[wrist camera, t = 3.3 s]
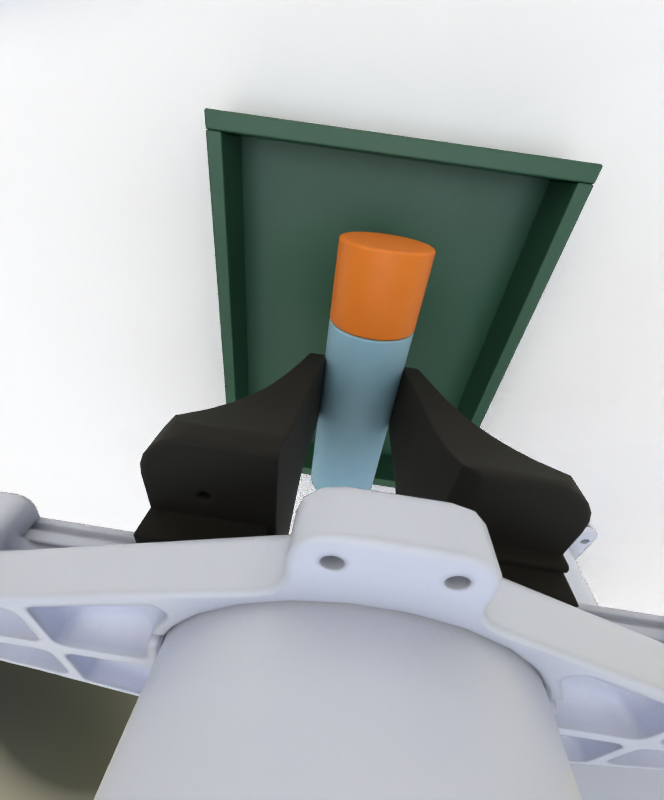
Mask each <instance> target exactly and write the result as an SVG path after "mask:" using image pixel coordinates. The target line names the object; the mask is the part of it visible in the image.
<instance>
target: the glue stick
mask: <svg viewBox="0 0 664 800" xmlns="http://www.w3.org/2000/svg"><path fill="white" fill-rule="evenodd" d="M434 257H435V249H434V248H433V247H431V246H430V245H428V244H426V243H423V242H420V241H417V240H414V239H410V238H406V237H401V236H396V235H390V234H383V233H375V232H347V233H343V234H341V235H340V237H339V243H338V252H337V260H336V269H335V277H334V285H333V294H332V302H331V311H330V319H329V328H328V336H327V345H326V353H325V358H326V361H325V370H324V378H323V386H322V395H321V403H320V411H319V417H318V422H317V429H316V438H315V446H314V455H313V463H312V472H311V479H312V483H313V485H314V487H315V489H316V490H319V489H321V488H323V487H353V488H359V489H366V490H371V488H372V484H373V480H374V477H375V473H376V469H377V466H378V462H379V458H380V455H381V451H382V447H383V444H384V440H385V436H386V433H387V429H388V425H389V421H390V418H391V414H392V410H393V407H394V403H395V399H396V396H397V392H398V388H399V385H400V381H401V377H402V373H403V370H404V367H405V363H406V359H407V356H408V352H409V348H410V345H411V341H412V337H413V332H414V330H415V326H416V323H417V319H418V315H419V312H420V308H421V304H422V301H423V297H424V293H425V290H426V286H427V282H428V279H429V275H430V271H431V268H432V264H433V260H434Z"/></svg>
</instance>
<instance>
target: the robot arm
mask: <svg viewBox="0 0 664 800" xmlns="http://www.w3.org/2000/svg"><path fill="white" fill-rule="evenodd" d="M325 361H326V358H325V355H322V354H316V353H310V354H308V355H307V356H306V357H305V358H304V359H303V360H302V361H301V362H300V363H299V364H297V365H296V366H295V367H294V368H293V369H291V370H290V371H289V372H288V373H287V374H285V375H284V376H283V377H281V378H280V379H278V380H277V381H275V382H274V383H273V384H271V385H269V386H268V387H266V388H264V389H262V390H260V391H258V392H256V393H254V394H252V395H249V396H247V397H244V398H242V399H239V400H237V401H234V402H231V403H228V404H225V405H222V406H218V407H215V408H211V409H207V410H202V411H197V412H191V413H186V414H180V415H175V416H174V417H173V418H172V419H171V421H170V422H169V423H168V424H167V425H166V426H165V427H164V428H163V429H162V431H161V432H160V433H159V434H158V436H157V437H156V438H155V439H154V441H153V442H152V443H151V445H150V446H149V447H148V448H147V450H146V451H145V452H144V453H143V456H142V459H141V462H140V467H141V475H142V478H143V481H144V485H145V488H146V492H147V495H148V499H149V502H150V505H151V508H150V510H149V511H148V513H147V514H146V516H145V517H144V519H143V520H142V522H141V524H140V525H139V527H138V528H137V530H136V531H135V532H130V531H123V530H117V529H111V528H104V527H98V526H92V525H86V524H79V523H73V522H67V521H60V520H54V519H48V518H42V517H40V516H39V513H38V510H37V508H36V506H35V505H34V504H33V503H32V501H31V500H29V499H28V498H26V497H24V496H22V495H18V494H14V493H7V492H1V491H0V660H2V661H6V662H10V663H14V664H18V665H22V666H26V667H30V668H34V669H38V670H42V671H46V672H50V673H53V674H57V675H61V676H65V677H69V678H72V679H76V680H80V681H84V682H87V683H91V684H95V685H99V686H102V687H106V688H110V689H114V690H117V691H121V692H125V693H129V694H133V695H136V696H139V698H138V700H137V703H136V705H135V707H134V709H133V712H132V714H131V716H130V719H129V721H128V723H127V725H126V727H125V730H124V732H123V734H122V737H121V739H120V741H119V743H118V746H117V748H116V750H115V753H114V755H113V757H112V760H111V762H110V764H109V766H108V768H107V771H106V773H105V775H104V778H103V780H102V782H101V784H100V787H99V789H98V791H97V793H96V796H95V798H94V800H664V616H658V615H651V614H645V613H639V612H633V611H626V610H620V609H614V608H607V607H601V606H598V604H597V602H596V600H595V598H594V596H593V594H592V592H591V590H590V588H589V586H588V584H587V582H586V580H585V578H584V576H583V575H582V573H581V571H580V569H579V567H578V565H577V563H576V561H575V560H576V559H577V557H578V556H579V555H580V554H581V553H582V552H583V551H584V550H585V549H586V548H587V547H588V546H589V545H590V544H591V543H592V542H593V541H594V540H595V539H596V537H597V533H596V531H595V530H594V529H593V528H590V527H587V525H588V523H589V522H590V516H591V510H590V507H589V503H588V502H587V500H586V499H585V497H584V496H583V494H582V492H581V491H580V489H579V488H578V486H577V485H576V483H575V482H574V480H573V478H572V477H571V476H570V475H568V474H565V473H563V472H561V471H558V470H556V469H554V468H551V467H549V466H547V465H544V464H542V463H540V462H538V461H535V460H533V459H531V458H529V457H528V456H526V455H524V454H522V453H520V452H518V451H516V450H514V449H512V448H511V447H509V446H507V445H505V444H504V443H502V442H500V441H499V440H497V439H496V438H494V437H492V436H491V435H489V434H488V433H486V432H485V431H483V430H482V429H480V428H479V427H478V426H477V425H475V424H474V423H473V422H471V421H470V420H469V419H467V418H466V417H465V416H464V415H463V414H461V413H460V412H459V411H458V410H457V409H456V408H455V407H454V406H453V405H451V404H450V403H449V402H448V401H447V400H446V399H445V398H444V397H443V396H442V395H441V393H440V392H439V391H438V390H437V389H436V388H435V387H434V386H433V385H432V384H431V383H430V381H429V380H428V379H427V378H426V377H425V376H424V375H423V374H422V373H421V372H420V371H419V370H418V369H415V368H408V367H404V370H403V373H402V377H401V381H400V385H399V388H398V392H397V396H396V399H395V403H394V407H393V410H392V414H391V418H390V421H389V437H390V446H391V454H392V461H393V469H394V477H395V488H396V494H391V493H385V492H379V491H372V490H366V489H359V488H353V487H323V488H321V489H319V490H317V491H315V492H312V493H310V494H308V495H306V496H304V497H303V499H302V501H301V503H300V505H299V507H298V508H297V510H296V515H295V519H294V524H293V529H292V533H291V534H289V529H290V524H291V519H292V514H293V509H294V504H295V499H296V495H297V490H298V485H299V480H300V476H301V472H302V468H303V465H304V462H305V459H306V456H307V453H308V450H309V447H310V443H311V440H312V437H313V434H314V431H315V428H316V425H317V422H318V417H319V411H320V403H321V395H322V386H323V378H324V370H325ZM288 534H289V535H288Z"/></svg>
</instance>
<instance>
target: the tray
mask: <svg viewBox="0 0 664 800" xmlns="http://www.w3.org/2000/svg"><path fill="white" fill-rule="evenodd" d="M205 124H206V129H208V130H206V137H207V151H208V164H209V177H210V191H211V204H212V217H213V231H214V244H215V257H216V271H217V284H218V297H219V311H220V324H221V337H222V351H223V364H224V377H225V391H226V404H228V403H231V402H234V401H237V400H239V399H242V398H244V397H247V396H249V395H252V394H254V393H256V392H258V391H260V390H262V389H264V388H266V387H268V386H269V385H271V384H273V383H274V382H275V381H277V380H278V379H280V378H281V377H283V376H284V375H285V374H287V373H288V372H289V371H290V370H291V369H293V368H294V367H295V366H296V365H297V364H299V363H300V362H301V361H302V360H303V359H304V358H305V357H306V356H307V355H308V354H310V353H316V354H322V355H325V353H326V345H327V336H328V328H329V319H330V311H331V302H332V294H333V285H334V277H335V269H336V260H337V252H338V243H339V237H340V235H341V234H343V233H347V232H375V233H383V234H390V235H396V236H401V237H406V238H410V239H414V240H417V241H420V242H423V243H426V244H428V245H430V246H431V247H433V248H434V249H435V257H434V260H433V264H432V268H431V271H430V275H429V279H428V282H427V286H426V290H425V293H424V297H423V301H422V304H421V308H420V312H419V315H418V319H417V323H416V326H415V330H414V332H413V337H412V341H411V345H410V348H409V352H408V356H407V359H406V363H405V367H408V368H415V369H418V370H419V371H420V372H421V373H422V374H423V375H424V376H425V377H426V378H427V379H428V380H429V381H430V383H431V384H432V385H433V386H434V387H435V388H436V389H437V390H438V391H439V392H440V393H441V395H442V396H443V397H444V398H445V399H446V400H447V401H448V402H449V403H450V404H451V405H453V406H454V407H455V408H456V409H457V410H458V411H459V412H460V413H461V414H463V415H464V416H465V417H466V418H467V419H469V420H470V421H471V422H473V423H474V424H475V425H477V426H478V427H480V425H481V423H482V420H483V418H484V416H485V414H486V412H487V410H488V408H489V406H490V404H491V401H492V399H493V397H494V395H495V393H496V391H497V389H498V387H499V384H500V382H501V380H502V378H503V376H504V374H505V372H506V370H507V368H508V365H509V363H510V361H511V359H512V357H513V355H514V353H515V351H516V348H517V346H518V344H519V342H520V340H521V338H522V336H523V334H524V332H525V329H526V327H527V325H528V323H529V321H530V319H531V317H532V315H533V312H534V310H535V308H536V306H537V304H538V302H539V300H540V298H541V296H542V293H543V291H544V289H545V287H546V285H547V283H548V281H549V279H550V276H551V274H552V272H553V270H554V268H555V266H556V264H557V262H558V260H559V257H560V255H561V253H562V251H563V249H564V247H565V245H566V243H567V241H568V238H569V236H570V234H571V232H572V230H573V228H574V226H575V224H576V221H577V219H578V217H579V215H580V213H581V211H582V209H583V207H584V205H585V202H586V200H587V198H588V196H589V194H590V192H591V190H592V188H593V185H592V184H594V183H595V181H596V179H597V177H598V175H599V173H600V171H601V169H602V165H601V164H596V163H588V162H581V161H574V160H567V159H560V158H553V157H546V156H539V155H532V154H525V153H518V152H511V151H504V150H497V149H490V148H483V147H476V146H468V145H461V144H454V143H447V142H440V141H433V140H426V139H419V138H412V137H405V136H398V135H391V134H384V133H377V132H370V131H363V130H356V129H348V128H341V127H334V126H327V125H320V124H313V123H306V122H299V121H292V120H285V119H278V118H271V117H264V116H257V115H250V114H243V113H236V112H228V111H221V110H214V109H207V108H206V109H205ZM316 429H317V425H316V428H315V431H314V434H313V437H312V440H311V443H310V447H309V450H308V453H307V456H306V459H305V462H304V465H303V468H302V472H301V473H303V474H309V475H311V472H312V463H313V455H314V446H315V438H316ZM373 484H374V485H381V486H387V487H394V488H395V477H394V469H393V461H392V454H391V446H390V437H389V425H388V429H387V433H386V436H385V440H384V444H383V447H382V451H381V455H380V458H379V462H378V466H377V469H376V473H375V477H374V480H373Z"/></svg>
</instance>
